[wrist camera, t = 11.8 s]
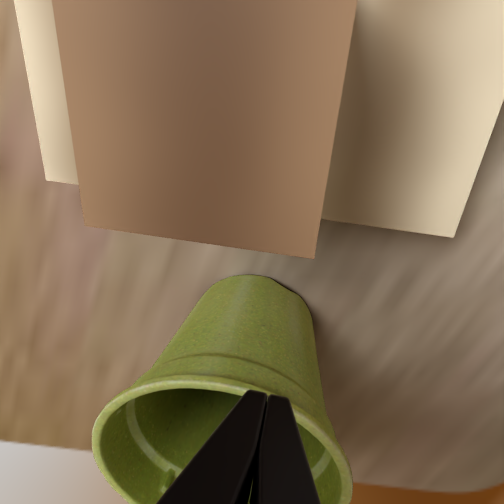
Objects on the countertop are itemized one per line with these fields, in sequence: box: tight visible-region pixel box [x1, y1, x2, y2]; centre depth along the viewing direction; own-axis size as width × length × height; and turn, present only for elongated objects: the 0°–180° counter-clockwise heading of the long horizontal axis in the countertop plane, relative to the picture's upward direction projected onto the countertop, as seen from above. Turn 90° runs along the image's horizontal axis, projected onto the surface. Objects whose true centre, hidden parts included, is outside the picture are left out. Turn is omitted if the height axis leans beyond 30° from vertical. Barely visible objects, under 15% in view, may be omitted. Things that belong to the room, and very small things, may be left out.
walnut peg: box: [52, 0, 358, 259], centre depth 12 cm, size 6×6×9 cm
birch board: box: [14, 0, 504, 238], centre depth 15 cm, size 16×10×2 cm, turn 87°
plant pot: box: [92, 275, 353, 504], centre depth 19 cm, size 9×9×9 cm
